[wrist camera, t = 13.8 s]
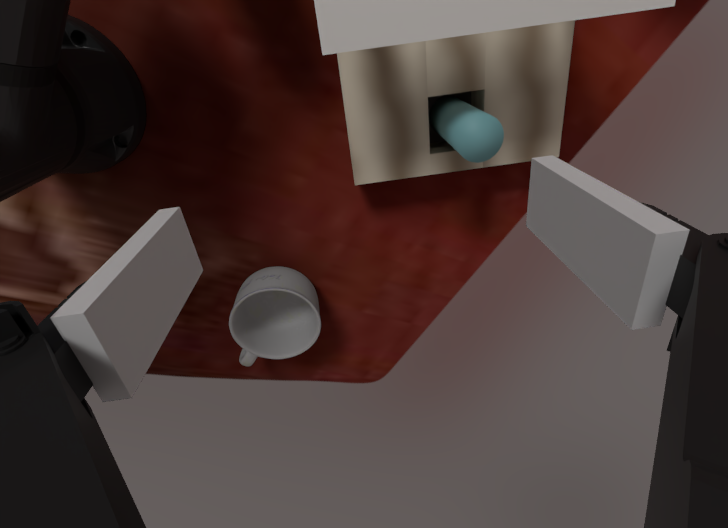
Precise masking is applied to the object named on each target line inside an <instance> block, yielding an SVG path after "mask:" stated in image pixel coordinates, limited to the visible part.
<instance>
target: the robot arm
mask: <svg viewBox="0 0 728 528" xmlns="http://www.w3.org/2000/svg"><path fill="white" fill-rule="evenodd" d="M69 5H70V0H0V202H1V201H3V200H5V199H7V198H9V197H11V196H12V195H14V194H16V193H18V192H20V191H22V190H24V189H26V188H28V187H30V186H32V185H34V184H36V183H38V182H40V181H42V180H43V179H45V178H47V177H49V176H51V175H53V174H55V173H73V174H85V173H93V172H98V171H101V170H104V169H107V168H109V167H112V166H113V165H115V164H117V163H118V162H120V161H122V160H124V159H125V158H126V157H128V156H129V155H130V154H131V153H132V152H133V151H134V150H135V148H136V147H137V145H138V144H139V142H140V140H141V138H142V136H143V133H144V129H145V123H146V105H145V99H144V95H143V91H142V88H141V85H140V83H139V80H138V78H137V76H136V74H135V72H134V70H133V68H132V67H131V65H130V64H129V62H128V61H127V59H126V58H125V56H124V55H123V54H122V53H121V51H120V50H119V49H118V48H117V47H116V46H115V45H114V44H113V43H112V42H111V41H110V40H109V39H108V38H107V37H106V36H104V35H103V34H102V33H101V32H99V31H98V30H96V29H95V28H94V27H92V26H90V25H89V24H87V23H85V22H83V21H81V20H79V19H77V18H75V17H72V16H70V15H68V10H69ZM526 226H527V227H528V228H529V229H530V230H531V231H532V232H533V233H534V234H535V235H536V236H537V237H538V238H539V239H540V240H541V241H542V242H543V243H544V244H545V245H546V246H547V247H548V248H549V249H550V250H551V251H552V252H553V253H554V254H555V255H556V256H557V257H558V258H559V259H560V260H561V261H562V262H563V263H564V264H565V265H566V266H567V267H568V268H569V269H570V270H571V271H572V272H573V273H574V274H576V276H577V277H578V278H579V279H580V280H581V281H583V283H584V284H586V286H587V287H588V288H590V289H591V290H592V291H593V292H594V293H595V294H596V295H597V296H598V297H599V298H600V299H601V300H602V301H603V302H604V303H605V304H606V305H607V306H608V307H609V308H610V309H611V310H612V311H613V312H614V313H615V314H616V315H617V316H618V317H619V318H620V319H621V320H622V321H623V322H624V323H625V324H626V325H627V326H628V327H629V328H630V329H631V330H633V329H640V328H648V327H655V326H660V325H661V322H662V319H663V316H664V313H665V310H666V306H668V307H669V308H670V309H671V310H673V311H674V312H675V313H676V314H678V317H677V321H676V324H675V327H674V330H673V333H672V336H671V339H670V342H669V345H668V348H667V351H670V359H669V366H668V372H667V379H666V386H665V392H664V399H663V405H662V412H661V419H660V425H659V432H658V439H657V445H656V452H655V458H654V465H653V472H652V478H651V485H650V491H649V499H648V505H647V512H646V518H645V524H644V528H728V233H721V234H712V235H707V234H705V233H703V232H701V231H700V230H698V229H696V228H694V227H692V226H690V225H688V224H686V223H685V222H683V221H678V219H677V218H675V217H673V216H671V215H667V213H666V212H664V211H662V210H660V209H658V208H656V207H654V206H652V205H648V204H644V203H641V202H638V201H636V200H634V199H632V198H630V197H628V196H626V195H624V194H623V193H621V192H619V191H617V190H615V189H613V188H612V187H610V186H608V185H606V184H604V183H603V182H601V181H599V180H597V179H595V178H593V177H592V176H590V175H588V174H586V173H584V172H582V171H581V170H578V169H577V168H575V167H573V166H571V165H569V164H568V163H566V162H564V161H562V160H560V159H558V158H557V157H555V156H553V155H550V156H543V157H536V158H532V161H531V173H530V185H529V197H528V209H527V222H526ZM202 272H203V268H202V266H201V263H200V260H199V258H198V255H197V252H196V249H195V247H194V244H193V241H192V239H191V236H190V233H189V230H188V228H187V225H186V222H185V220H184V217H183V214H182V211H181V209H180V207H174V208H167V209H160V210H158V211H157V212H156V213H155V214H154V215H153V216H152V217H151V218H150V219H149V220H148V221H147V222H146V223H145V224H144V225H143V226H142V227H141V228H140V229H139V230H138V231H137V232H136V233H135V234H134V235H133V236H132V237H131V238H130V239H129V240H128V241H127V242H126V243H125V244H124V245H123V246H122V247H121V248H120V249H119V250H118V251H117V252H116V253H115V254H114V255H113V256H112V257H111V258H110V259H109V260H108V261H107V262H106V263H105V264H104V265H103V266H102V267H101V268H100V269H99V270H98V271H97V272H96V273H95V274H94V275H93V276H92V277H91V278H90V279H89V280H87V281H86V282H84V283H83V284H81V285H79V286H78V287H77V288H76V289H75V290H74V291H73V292H72V293H71V294H70V295H69V296H67V299H64V300H63V301H62V302H61V303H60V304H59V305H58V308H55V309H54V310H53V311H52V312H51V313H50V314H49V315H48V316H47V317H46V318H45V319H44V320H43V321H42V322H41V323H40V324H39V325H38V326H37V325H36V324H35V322H34V321H33V319H32V318H31V316H30V314H29V313H28V311H27V310H26V308H25V307H24V305H23V304H22V303H20V302H19V301H8V302H2V303H0V528H146V526H145V524H144V522H143V520H142V518H141V515H140V513H139V511H138V509H137V507H136V505H135V503H134V500H133V498H132V496H131V494H130V492H129V490H128V487H127V485H126V483H125V481H124V479H123V477H122V474H121V472H120V470H119V468H118V466H117V464H116V461H115V460H114V457H113V455H112V453H111V451H110V449H109V446H108V444H107V442H106V440H105V438H104V435H103V433H102V431H101V429H100V427H99V425H98V423H97V420H96V418H95V416H94V414H93V412H92V409H91V407H90V406H89V405H88V403H87V401H86V400H85V398H84V397H85V396H86V394H87V393H88V391H89V390H90V388H91V387H92V386H93V387H94V389H95V390H96V392H97V393H98V395H99V397H100V398H101V400H102V401H103V402H106V401H114V400H121V399H128V398H132V397H133V395H134V393H135V392H136V390H137V388H138V386H139V384H140V382H141V381H142V379H143V377H144V375H145V374H146V372H147V370H148V368H149V367H150V365H151V363H152V361H153V359H154V358H155V356H156V354H157V352H158V350H159V349H160V347H161V345H162V343H163V341H164V340H165V338H166V336H167V334H168V333H169V331H170V329H171V327H172V325H173V324H174V322H175V320H176V318H177V316H178V315H179V313H180V311H181V309H182V308H183V306H184V304H185V302H186V300H187V299H188V297H189V295H190V293H191V291H192V290H193V288H194V286H195V284H196V283H197V281H198V279H199V277H200V275H201V274H202Z"/></svg>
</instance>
